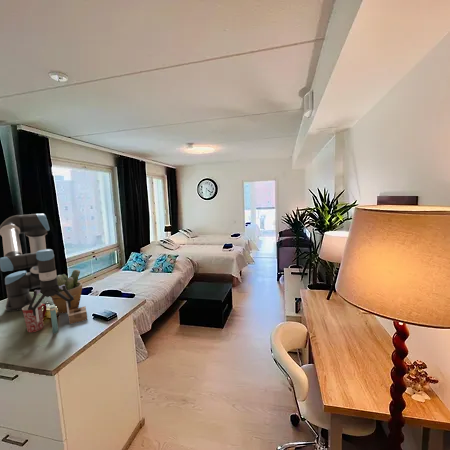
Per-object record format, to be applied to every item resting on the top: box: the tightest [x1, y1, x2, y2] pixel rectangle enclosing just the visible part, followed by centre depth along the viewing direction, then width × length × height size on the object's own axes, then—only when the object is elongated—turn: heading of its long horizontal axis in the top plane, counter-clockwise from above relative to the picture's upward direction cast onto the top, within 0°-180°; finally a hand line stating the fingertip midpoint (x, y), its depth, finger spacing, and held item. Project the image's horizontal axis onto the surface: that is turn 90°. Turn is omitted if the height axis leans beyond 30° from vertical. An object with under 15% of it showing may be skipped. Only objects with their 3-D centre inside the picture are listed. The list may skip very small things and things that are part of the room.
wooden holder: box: [68, 305, 88, 325], centre depth 153 cm, size 9×9×5 cm
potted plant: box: [49, 269, 83, 314], centre depth 165 cm, size 18×19×25 cm
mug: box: [21, 302, 47, 333], centre depth 144 cm, size 13×9×14 cm
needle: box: [49, 306, 59, 334], centre depth 138 cm, size 2×2×14 cm
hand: (53, 317), depth 137 cm, fingers open, 13 cm apart
